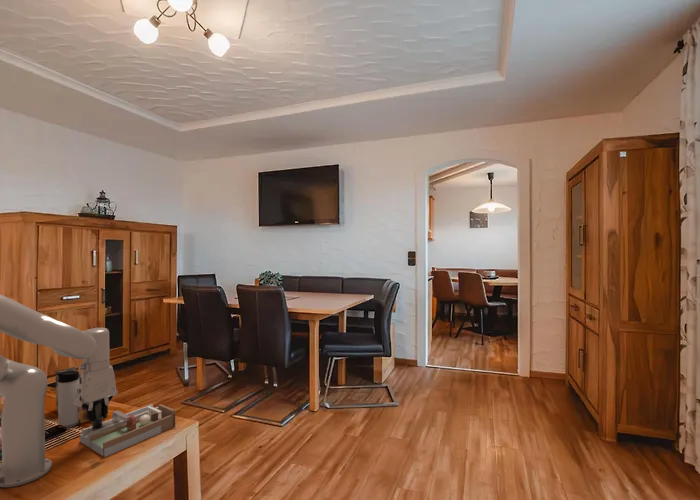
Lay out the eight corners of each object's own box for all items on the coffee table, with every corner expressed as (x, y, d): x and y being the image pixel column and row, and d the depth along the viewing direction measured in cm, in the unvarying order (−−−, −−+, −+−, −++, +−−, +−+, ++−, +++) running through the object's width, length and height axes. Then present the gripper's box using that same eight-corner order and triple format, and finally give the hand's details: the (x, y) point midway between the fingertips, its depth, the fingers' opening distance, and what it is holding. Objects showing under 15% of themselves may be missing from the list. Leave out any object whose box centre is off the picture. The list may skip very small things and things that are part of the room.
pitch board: (104, 457, 119) (104, 435, 119) (80, 441, 128) (79, 421, 128) (175, 426, 139) (175, 407, 139) (150, 414, 149) (149, 397, 148)
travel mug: (53, 426, 139) (53, 372, 139) (74, 419, 145) (73, 367, 144) (62, 430, 136) (62, 375, 136) (82, 423, 142) (82, 369, 141)
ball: (142, 428, 132) (142, 418, 132) (137, 425, 134) (137, 415, 134) (152, 424, 135) (152, 414, 135) (147, 421, 137) (147, 411, 137)
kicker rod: (105, 443, 122) (104, 410, 122) (88, 433, 128) (88, 401, 128) (136, 430, 130) (136, 399, 130) (119, 421, 137) (119, 392, 137)
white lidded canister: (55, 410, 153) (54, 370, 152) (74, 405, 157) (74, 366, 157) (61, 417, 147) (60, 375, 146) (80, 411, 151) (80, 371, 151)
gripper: (73, 374, 120) (74, 431, 120) (127, 360, 134) (127, 412, 134) (63, 369, 124) (64, 425, 124) (116, 357, 138) (117, 407, 138)
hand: (97, 418), depth 129 cm, fingers closed on kicker rod, 3 cm apart
